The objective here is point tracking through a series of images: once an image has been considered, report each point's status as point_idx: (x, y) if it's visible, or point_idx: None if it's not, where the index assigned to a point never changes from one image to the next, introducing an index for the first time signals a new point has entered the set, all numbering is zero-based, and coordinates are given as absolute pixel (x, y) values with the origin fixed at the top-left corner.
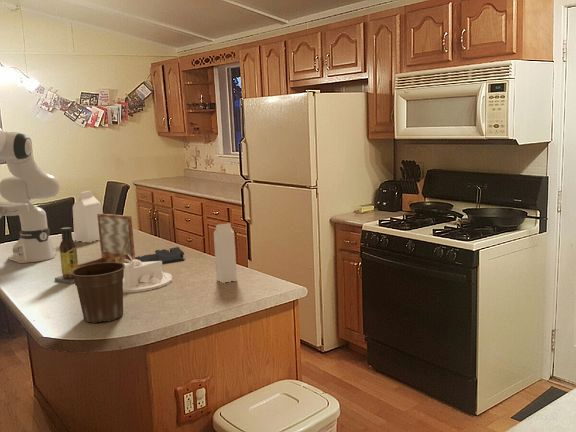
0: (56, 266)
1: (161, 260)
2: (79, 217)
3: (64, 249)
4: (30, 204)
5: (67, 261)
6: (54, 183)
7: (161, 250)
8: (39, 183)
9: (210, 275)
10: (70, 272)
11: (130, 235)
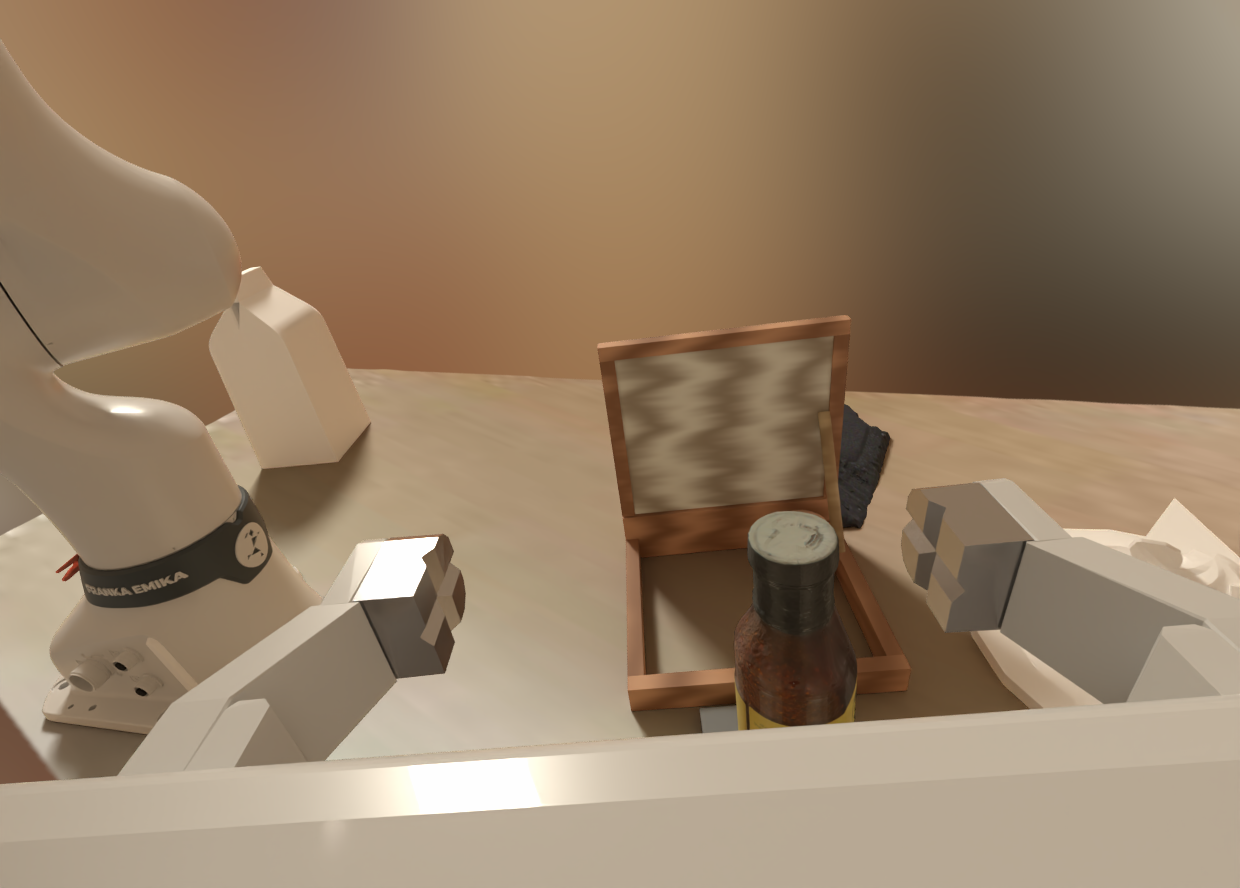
0: (451, 678)
1: (864, 465)
2: (261, 381)
3: (833, 698)
4: (1046, 525)
5: None
6: (213, 223)
7: None
8: (116, 232)
9: (1213, 476)
10: None
11: (839, 412)
